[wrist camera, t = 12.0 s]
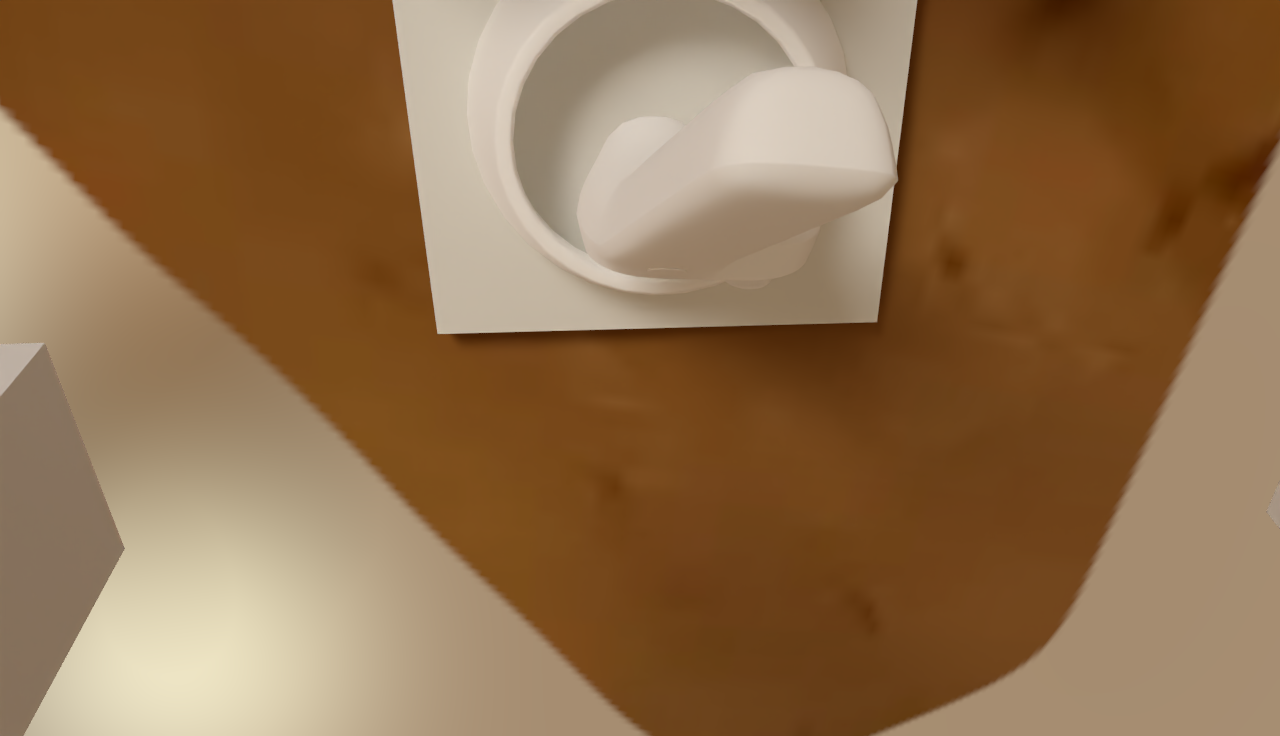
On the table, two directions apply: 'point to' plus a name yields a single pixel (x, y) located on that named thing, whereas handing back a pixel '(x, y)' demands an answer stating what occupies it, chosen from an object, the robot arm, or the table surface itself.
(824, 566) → the table surface
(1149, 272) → the table surface
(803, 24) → the hook
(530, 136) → the felt pad
